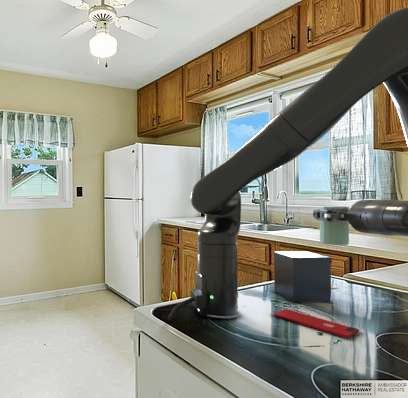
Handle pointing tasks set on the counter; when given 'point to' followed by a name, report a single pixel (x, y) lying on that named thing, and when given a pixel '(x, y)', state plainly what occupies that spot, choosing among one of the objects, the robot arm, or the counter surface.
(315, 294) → the dark gray box
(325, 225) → the jar
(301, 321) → the electronic device
